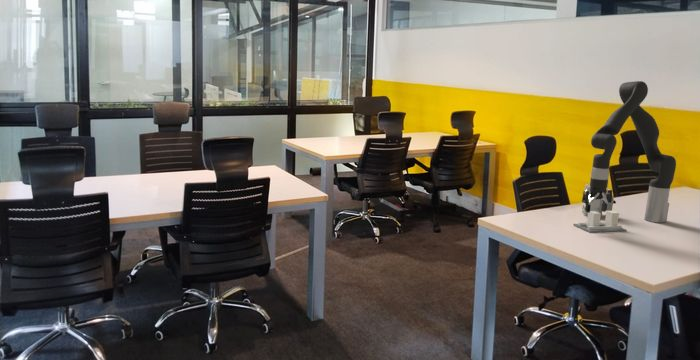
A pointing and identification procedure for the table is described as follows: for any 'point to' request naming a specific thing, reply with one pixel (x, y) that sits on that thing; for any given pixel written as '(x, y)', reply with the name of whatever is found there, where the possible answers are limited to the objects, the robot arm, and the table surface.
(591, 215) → the block
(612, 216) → the rail plate
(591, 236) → the table surface
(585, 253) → the table surface
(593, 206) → the circuit breaker
